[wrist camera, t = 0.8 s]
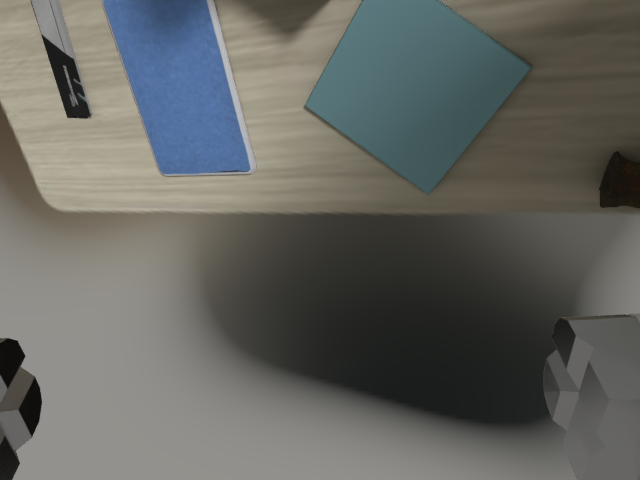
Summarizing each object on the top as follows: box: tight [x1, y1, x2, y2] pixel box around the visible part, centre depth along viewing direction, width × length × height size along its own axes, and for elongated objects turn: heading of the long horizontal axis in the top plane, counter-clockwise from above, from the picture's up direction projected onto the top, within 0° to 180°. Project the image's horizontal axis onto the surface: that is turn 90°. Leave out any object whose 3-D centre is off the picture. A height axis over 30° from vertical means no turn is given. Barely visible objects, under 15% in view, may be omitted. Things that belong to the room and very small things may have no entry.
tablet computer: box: [102, 0, 257, 176], centre depth 59 cm, size 19×13×1 cm, turn 12°
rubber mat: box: [305, 0, 532, 195], centre depth 50 cm, size 14×14×1 cm
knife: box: [31, 0, 92, 118], centre depth 63 cm, size 15×1×4 cm
